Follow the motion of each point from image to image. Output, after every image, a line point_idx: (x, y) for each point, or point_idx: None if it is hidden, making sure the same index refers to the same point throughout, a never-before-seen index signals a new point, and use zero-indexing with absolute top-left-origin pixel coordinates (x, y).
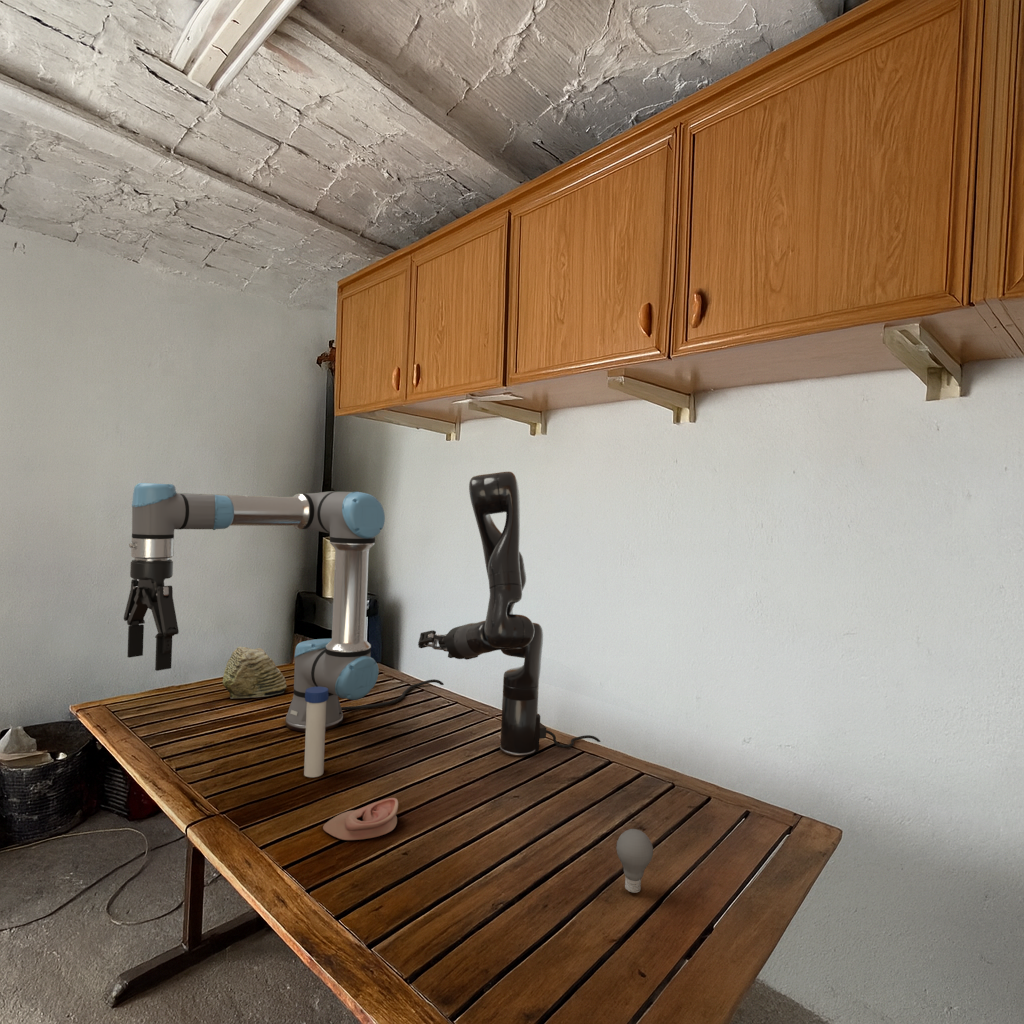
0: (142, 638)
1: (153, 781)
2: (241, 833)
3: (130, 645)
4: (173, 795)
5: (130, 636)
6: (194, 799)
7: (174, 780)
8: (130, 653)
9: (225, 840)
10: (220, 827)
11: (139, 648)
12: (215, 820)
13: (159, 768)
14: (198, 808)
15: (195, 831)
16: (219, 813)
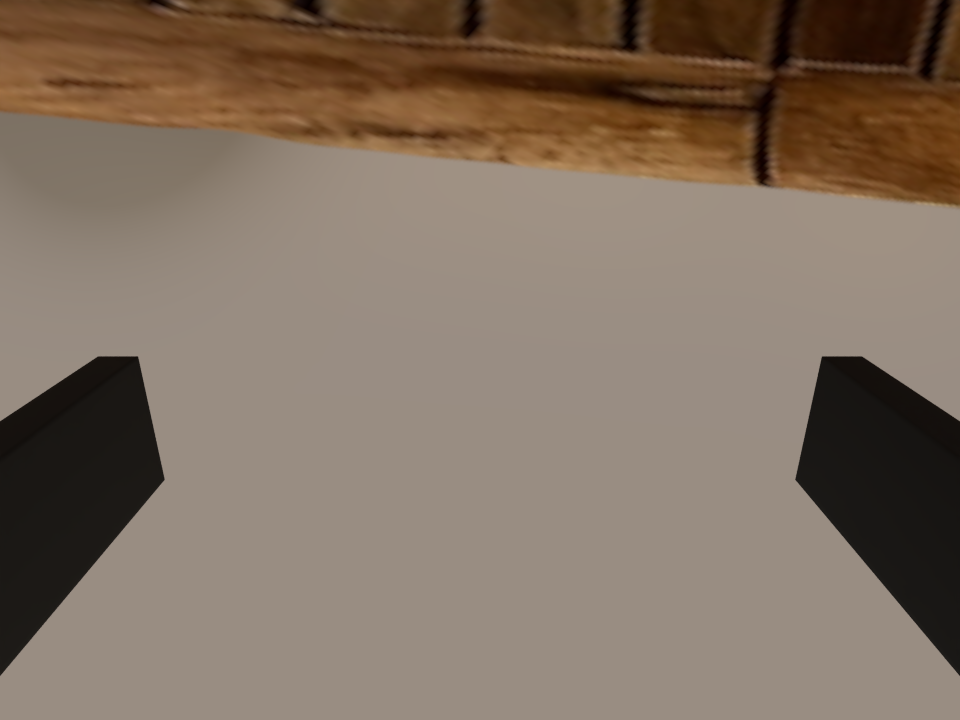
0: (6, 468)
1: (363, 127)
2: (949, 87)
3: (94, 552)
4: (526, 125)
5: (12, 642)
6: (611, 85)
7: (406, 65)
8: (142, 491)
9: (937, 146)
10: (858, 117)
11: (100, 431)
12: (805, 106)
13: (255, 58)
14: (684, 107)
15: (812, 185)
16: (774, 71)
